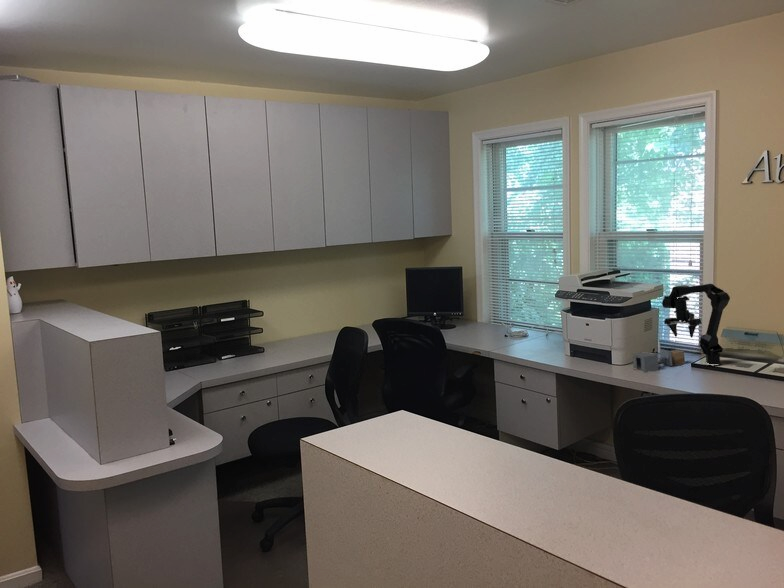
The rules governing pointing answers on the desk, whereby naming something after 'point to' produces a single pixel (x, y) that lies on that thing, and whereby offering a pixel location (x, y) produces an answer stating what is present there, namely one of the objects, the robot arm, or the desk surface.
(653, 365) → the gauge frame
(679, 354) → the pusher block
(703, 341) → the robot arm
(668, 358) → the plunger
